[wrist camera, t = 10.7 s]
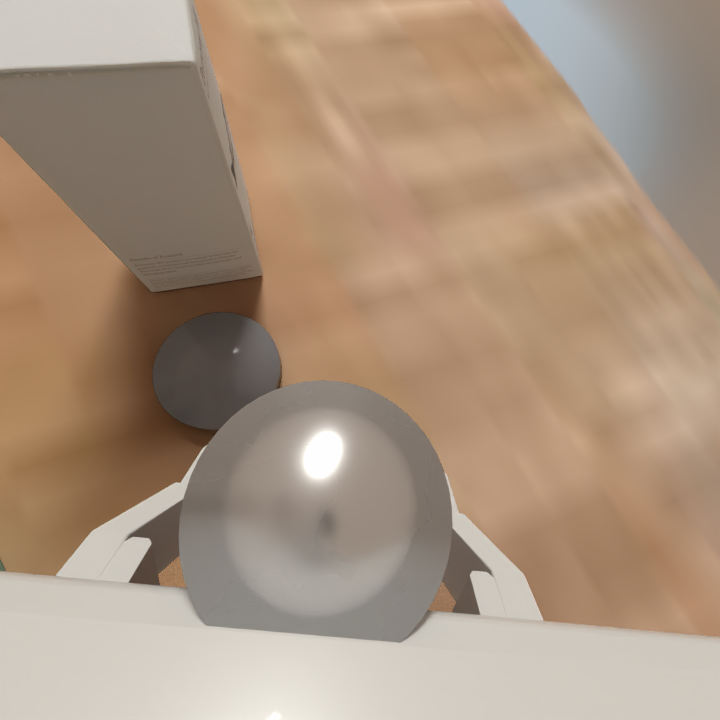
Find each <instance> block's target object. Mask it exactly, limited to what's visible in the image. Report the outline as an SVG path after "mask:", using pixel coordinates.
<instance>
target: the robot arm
mask: <svg viewBox="0 0 720 720" xmlns="http://www.w3.org/2000/svg"><path fill="white" fill-rule="evenodd" d="M206 446H207V445H206ZM206 446H205V447H203V448H202V450H201V451H200V453H199V454H198V456H197V458H196V459H195V461H194V462H193V464H192V465H191V467H190V469H189V470H188V472H187V473H186V475H185V476H184V478H183V479H182V481H181V483H176V482H175V483H174V484H172V485H170V486H168V487H167V488H165V489H163V490H162V491H160V492H158V493H156V494H155V495H153V496H151V497H150V498H148V499H146V500H144V501H143V502H141V503H139V504H138V505H136V506H134V507H132V508H131V509H129V510H127V511H126V512H124V513H122V514H120V515H119V516H117V517H115V518H113V519H112V520H110V521H108V522H107V523H105V524H103V525H101V526H100V527H98V528H96V529H95V530H93V531H92V532H91V533H90V534H89V535H88V537H87V538H86V539H85V540H84V541H83V543H82V544H81V545H80V546H79V548H78V549H77V550H76V551H75V552H74V554H73V555H72V556H71V557H70V559H69V560H68V561H67V562H66V564H65V565H64V566H63V567H62V568H61V570H60V571H59V572H58V573H57V575H56V576H50V575H40V574H29V573H18V572H7V571H0V720H720V637H715V636H704V635H693V634H682V633H671V632H660V631H648V630H637V629H627V628H616V627H605V626H594V625H583V624H572V623H562V622H551V621H544V620H543V618H542V616H541V613H540V611H539V609H538V606H537V604H536V602H535V599H534V597H533V594H532V592H531V590H530V587H529V585H528V583H527V580H526V578H525V576H524V574H523V573H522V572H521V571H520V570H519V569H518V568H517V567H516V566H515V565H514V564H513V563H512V562H511V561H510V560H509V559H508V558H507V557H506V556H505V555H504V554H503V553H502V552H501V551H500V550H499V549H498V548H497V547H496V546H495V545H494V544H493V543H492V542H491V541H490V540H489V539H488V538H487V537H486V536H485V535H484V534H483V533H482V532H481V531H480V530H479V529H478V528H477V527H476V526H475V525H474V524H473V523H472V522H471V521H470V520H469V519H468V518H467V517H466V516H465V515H464V514H460V513H459V511H458V508H457V505H456V502H455V499H454V495H453V492H452V489H451V486H450V482H449V479H448V476H447V474H446V473H445V476H446V480H447V483H448V487H449V492H450V499H451V505H452V524H453V526H452V539H451V548H450V553H449V558H448V563H447V566H446V570H445V573H444V576H443V579H442V581H443V583H444V584H445V586H446V587H447V589H448V590H449V592H450V593H451V595H452V596H453V598H454V599H455V601H456V604H455V606H454V609H453V611H452V612H442V611H431V610H427V611H426V613H425V615H424V616H423V618H422V619H421V620H420V622H419V623H418V624H417V625H416V626H415V628H414V629H413V630H412V631H411V633H410V634H409V635H408V636H407V637H406V638H405V639H404V640H403V641H402V642H400V643H398V642H386V641H375V640H363V639H352V638H340V637H329V636H317V635H306V634H294V633H283V632H271V631H260V630H248V629H237V628H225V627H214V626H206V625H205V623H204V622H203V621H202V619H201V618H200V616H199V614H198V612H197V610H196V608H195V606H194V604H193V602H192V600H191V598H190V596H189V593H188V590H187V588H181V587H170V586H160V582H159V577H158V574H159V573H160V572H161V571H162V570H163V569H165V568H166V567H167V566H168V565H169V564H170V563H171V562H172V561H174V560H175V559H176V558H177V557H178V556H179V555H180V553H179V524H180V514H181V509H182V504H183V499H184V495H185V491H186V488H187V485H188V482H189V479H190V476H191V474H192V472H193V470H194V468H195V466H196V463H197V461H198V459H199V458H200V456H201V454H202V453H203V451H204V449H205V448H206Z"/></svg>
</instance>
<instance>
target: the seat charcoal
mask: <svg viewBox="0 0 720 720" xmlns="http://www.w3.org/2000/svg"><path fill="white" fill-rule="evenodd" d="M152 375H153V386H154V391H155V393H156V396H157V398H158V400H159V402H160V404H161V405H162V406H163V408H164V409H165V410H166V411H167V412H168V413H169V414H170V415H171V416H172V417H174V418H175V419H177V420H178V421H180V422H182V423H184V424H187V425H190V426H193V427H196V428H199V429H203V430H208V431H218V430H219V429H220V428H221V427H222V426H223V425H224V424H225V423H226V422H227V421H228V420H229V419H230V418H231V417H232V416H233V415H234V414H236V413H237V412H238V411H240V410H241V409H242V408H243V407H245V406H246V405H247V404H249V403H251V402H252V401H254V400H256V399H257V398H259V397H260V396H263V395H265V394H267V393H269V392H271V391H273V390H276V389H279V385H280V382H281V375H282V365H281V359H280V356H279V353H278V350H277V348H276V345H275V343H274V341H273V339H272V338H271V336H270V335H269V333H268V332H267V331H266V330H265V329H264V328H263V327H262V326H261V325H260V324H258V323H257V322H255V321H254V320H252V319H250V318H248V317H246V316H243V315H240V314H235V313H227V312H216V313H209V314H205V315H201V316H198V317H196V318H193V319H191V320H189V321H187V322H185V323H184V324H182V325H181V326H179V327H178V328H177V329H176V330H175V331H173V332H172V333H171V334H170V335H169V336H168V338H167V339H166V340H165V341H164V343H163V344H162V346H161V348H160V349H159V351H158V353H157V356H156V358H155V362H154V366H153V374H152Z"/></svg>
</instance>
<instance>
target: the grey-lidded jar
mask: <svg viewBox="0 0 720 720" xmlns="http://www.w3.org/2000/svg"><path fill="white" fill-rule="evenodd" d="M452 526H453V524H452V505H451V499H450V492H449V487H448V483H447V480H446V476H445V473H444V470H443V467H442V465H441V463H440V460H439V458H438V455H437V453H436V452H435V450H434V448H433V446H432V445H431V443H430V441H429V439H428V438H427V437H426V435H425V434H424V433H423V431H422V430H421V428H420V427H419V426H418V425H417V424H416V423H415V422H414V421H413V419H412V418H411V417H410V416H409V415H408V414H407V413H405V412H404V411H403V410H402V409H401V408H399V407H398V406H397V405H396V404H394V403H393V402H391V401H389V400H388V399H386V398H385V397H383V396H381V395H379V394H377V393H375V392H373V391H371V390H369V389H366V388H363V387H360V386H357V385H354V384H349V383H343V382H338V381H307V382H302V383H296V384H291V385H288V386H285V387H282V388H279V389H276V390H273V391H271V392H269V393H267V394H265V395H263V396H260V397H259V398H257V399H256V400H254V401H252V402H251V403H249V404H247V405H246V406H245V407H243V408H242V409H241V410H240V411H238V412H237V413H236V414H234V415H233V416H232V417H231V418H230V419H229V420H228V421H227V422H226V423H225V424H224V425H223V426H222V427H221V428H220V429H219V430H218V432H217V433H216V434H215V435H214V437H213V438H212V439H211V441H210V442H209V443H208V445H207V446H206V448H205V449H204V451H203V453H202V454H201V456H200V458H199V459H198V461H197V463H196V466H195V468H194V470H193V472H192V474H191V476H190V479H189V482H188V485H187V488H186V491H185V495H184V499H183V504H182V509H181V514H180V524H179V553H180V561H181V567H182V572H183V578H184V581H185V584H186V587H187V590H188V593H189V596H190V598H191V600H192V602H193V604H194V606H195V608H196V610H197V612H198V614H199V616H200V618H201V619H202V621H203V622H204V623H205V625H206V626H214V627H225V628H237V629H248V630H260V631H271V632H283V633H294V634H306V635H317V636H329V637H340V638H352V639H363V640H375V641H386V642H398V643H400V642H402V641H403V640H404V639H405V638H406V637H407V636H408V635H409V634H410V633H411V631H412V630H413V629H414V628H415V626H416V625H417V624H418V623H419V622H420V620H421V619H422V618H423V616H424V615H425V613H426V611H427V610H428V608H429V606H430V605H431V603H432V602H433V600H434V597H435V595H436V593H437V591H438V589H439V587H440V584H441V582H442V579H443V576H444V573H445V570H446V566H447V563H448V558H449V553H450V548H451V539H452Z"/></svg>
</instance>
